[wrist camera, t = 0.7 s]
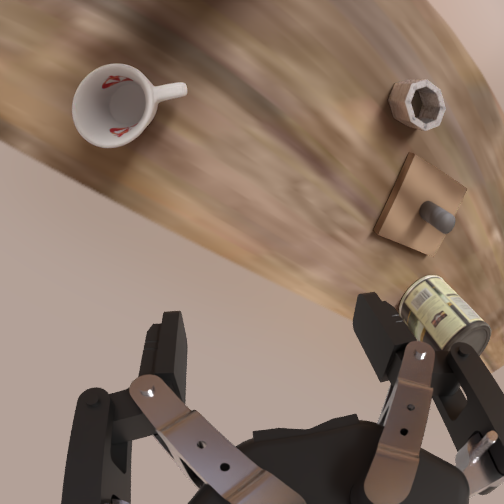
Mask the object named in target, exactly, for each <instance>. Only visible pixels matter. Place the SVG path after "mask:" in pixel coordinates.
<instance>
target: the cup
mask: <svg viewBox="0 0 504 504" xmlns="http://www.w3.org/2000/svg"><path fill="white" fill-rule="evenodd" d="M186 95H187V86H186V84H185V83H182V82H178V83H171V84H166V85H161V86H153V84H152V83H151V82H150V81H149V80H148V79H147V78H146V77H145V76H144V74H143V73H141V72H140V71H139V70H138V69H136V68H134V67H132V66H129V65H126V64H119V63H115V64H108V65H104V66H101V67H99V68H97V69H95V70H94V71H92V72H91V73H90V74H88V75H87V76H86V77H85V78H84V79H83V81H82V82H81V83H80V85H79V86H78V88H77V90H76V92H75V95H74V98H73V103H72V116H73V121H74V124H75V127H76V129H77V130H78V132H79V133H80V135H81V136H82V137H83V138H84V139H85V140H86V141H88V142H89V143H91V144H93V145H95V146H98V147H102V148H115V147H120V146H123V145H125V144H128V143H129V142H131V141H133V140H134V139H135V138H137V137H138V136H139V135H140V134H141V133H142V132H143V131H144V129H145V128H146V127H147V126H148V125H149V124H150V122H151V121H152V120H153V118H154V116H155V114H156V111H157V108H158V104H159V103H160V102H162V101H166V100H170V99H174V98H179V97H183V96H186Z"/></svg>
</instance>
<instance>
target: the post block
mask: <svg viewBox="0 0 504 504" xmlns="http://www.w3.org/2000/svg"><path fill="white" fill-rule="evenodd" d="M466 191H467V188H466V187H464V186H463V185H461V184H460V183H458V182H457V181H456V180H454V179H453V178H451V177H450V176H448V175H447V174H445V173H444V172H442V171H441V170H439V169H438V168H436V167H435V166H433V165H432V164H430V163H428V162H427V161H425V160H424V159H422V158H420V157H419V156H417V155H416V154H413V153H410V152H409V154H408V156H407V158H406V161H405V163H404V165H403V168H402V170H401V172H400V174H399V177H398V179H397V181H396V183H395V185H394V188H393V190H392V192H391V194H390V196H389V198H388V201H387V203H386V205H385V207H384V209H383V211H382V213H381V215H380V217H379V219H378V221H377V223H376V225H375V228H374V230H373V231H374V232H376V233H377V234H378V235H380V236H382V237H385V238H387V239H390V240H393V241H395V242H398V243H400V244H403V245H405V246H407V247H410V248H412V249H415V250H417V251H420V252H422V253H424V254H427V255H429V256H432V257H434V256H435V254H436V252H437V250H438V248H439V246H440V244H441V242H442V241H443V239H444V237H445V235H446V234H447V233H449V232H450V231H451V230H452V229H453V227H454V225H455V215H456V213H457V211H458V208H459V206H460V204H461V202H462V200H463V198H464V195H465V193H466Z"/></svg>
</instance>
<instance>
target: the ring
mask: <svg viewBox="0 0 504 504" xmlns="http://www.w3.org/2000/svg"><path fill="white" fill-rule="evenodd" d="M415 90H416V91H418V92H419V94H420V98H421V101H422V104H423V105H422V108H421V111H420V113H419V116H418V117H415V115H414V111H413V108H412V105H411V101H412V98H413V96H414V93H415ZM388 102H389V105H390V108H391V111H392V114H393V117H394V118H395V119H396V120H398V121H399V122H401V123H403V124H404V125H406V126H408V127H411V128H415V129H419V130H423V131H427V130H429V129H432V128H434V127H437V126H439V125H440V123H441V120H442V117H443V115H444V112H445V109H446V108H445V104H444V100H443V97H442V93H441V90H440V89H439V88H437V87H436V86H435V85H434V84H432V83H431V82H430V81H428V80H427V79H408V80H404V81H401V82H398V83H395V84H394V86H393V88H392V91H391V93H390V96H389V99H388Z"/></svg>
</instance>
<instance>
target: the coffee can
mask: <svg viewBox="0 0 504 504" xmlns="http://www.w3.org/2000/svg"><path fill="white" fill-rule="evenodd" d="M399 315H400V316H401V318H402V319H403V321H404V322H405V324H406V325H407V326H408V328H409V329H410V330H411V332H412V333H413V334H414V336H415V337H416V339H417V340H418V341H423V342H425V343H427V344H429V345H430V346H431V347H432V348H433V349H434V351H449V350H450V348H451V346H452V345H453V344H454V343H456V342H464V343H467V344H469V345H470V346H472V347H473V348H474V350H475V351H476V352H477V354H478V355H479V356H480V355H481V353H482V352H483V351H484V349H485V348H486V346H487V344H488V342H489V340H490V336H491V328H490V326H489V325H488V324H487V323H486V322H484V321H483V320H482V319H481V318H480V317H479V316H478V315H477V313H476V312H475V311H474V310H473V309H472V308H471V307H470V306H469V305H468V304H467V303H466V302H465V301H464V300H463V299H462V298H461V297H460V296H459V295H458V294H457V293H456V292H455V291H454V290H453V289H452V288H451V287H450V286H449V285H448V284H447V283H446V282H445V281H444V280H443V279H442V278H441V277H439V276H437V275H428V276H425V277H423V278H421V279H419V280H417V281H416V282H415V283H414V284H413V285H412V286H411V287H410V288H409V289H408V290H407V291H406V293H405V294H404V296H403V298H402V300H401V302H400V306H399Z"/></svg>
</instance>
